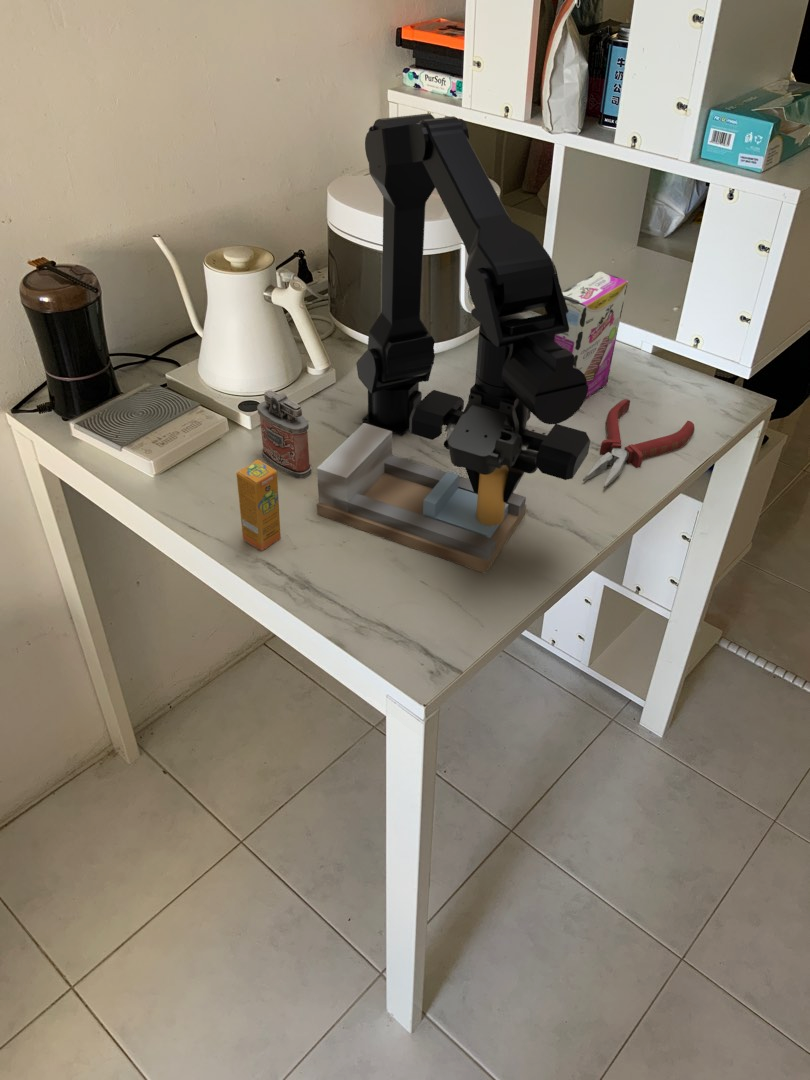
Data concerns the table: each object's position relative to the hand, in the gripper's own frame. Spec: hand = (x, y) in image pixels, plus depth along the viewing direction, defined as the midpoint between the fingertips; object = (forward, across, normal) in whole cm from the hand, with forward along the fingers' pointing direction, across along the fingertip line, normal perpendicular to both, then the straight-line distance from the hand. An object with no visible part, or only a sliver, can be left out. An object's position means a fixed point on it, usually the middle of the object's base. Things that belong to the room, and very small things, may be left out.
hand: (491, 495), depth 99 cm
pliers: (+7, +8, +26) cm, 28 cm away
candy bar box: (+6, -2, +36) cm, 37 cm away
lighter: (+6, -29, +1) cm, 29 cm away
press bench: (+6, -9, 0) cm, 11 cm away
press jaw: (+4, -3, 0) cm, 5 cm away
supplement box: (+6, -23, -13) cm, 27 cm away
